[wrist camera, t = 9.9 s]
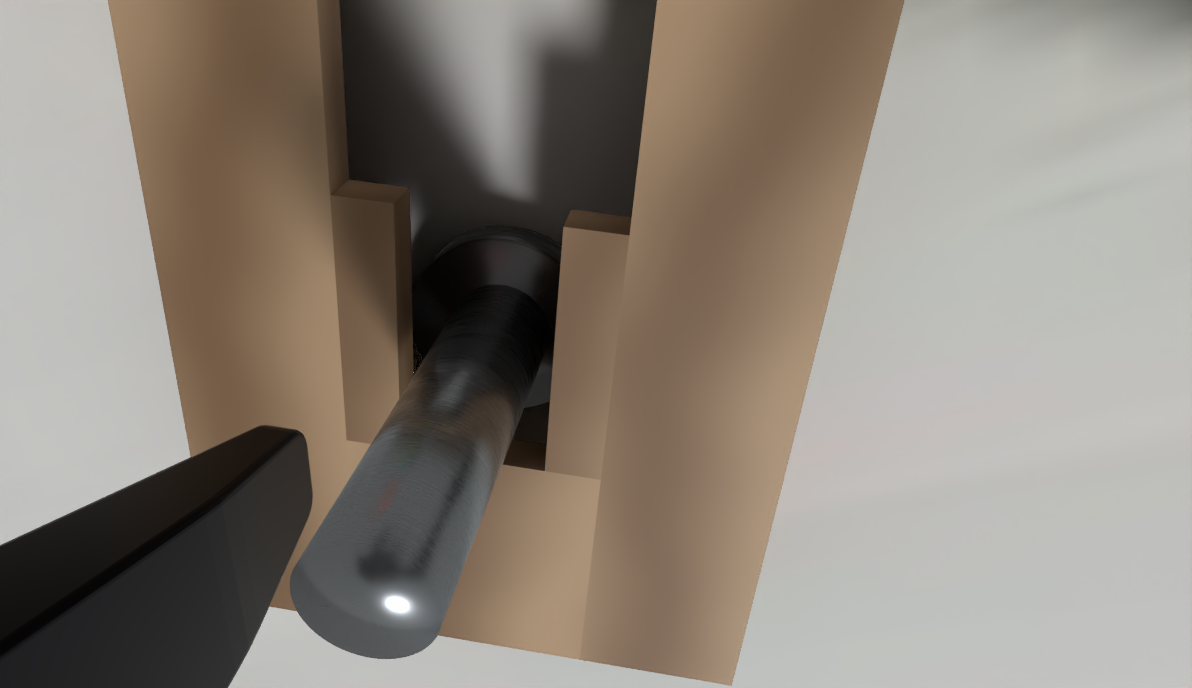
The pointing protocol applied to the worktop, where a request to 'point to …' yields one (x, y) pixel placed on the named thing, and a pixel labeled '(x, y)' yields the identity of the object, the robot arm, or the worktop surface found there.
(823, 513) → the worktop surface
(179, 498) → the robot arm
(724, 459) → the keyhole board
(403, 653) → the tee peg
